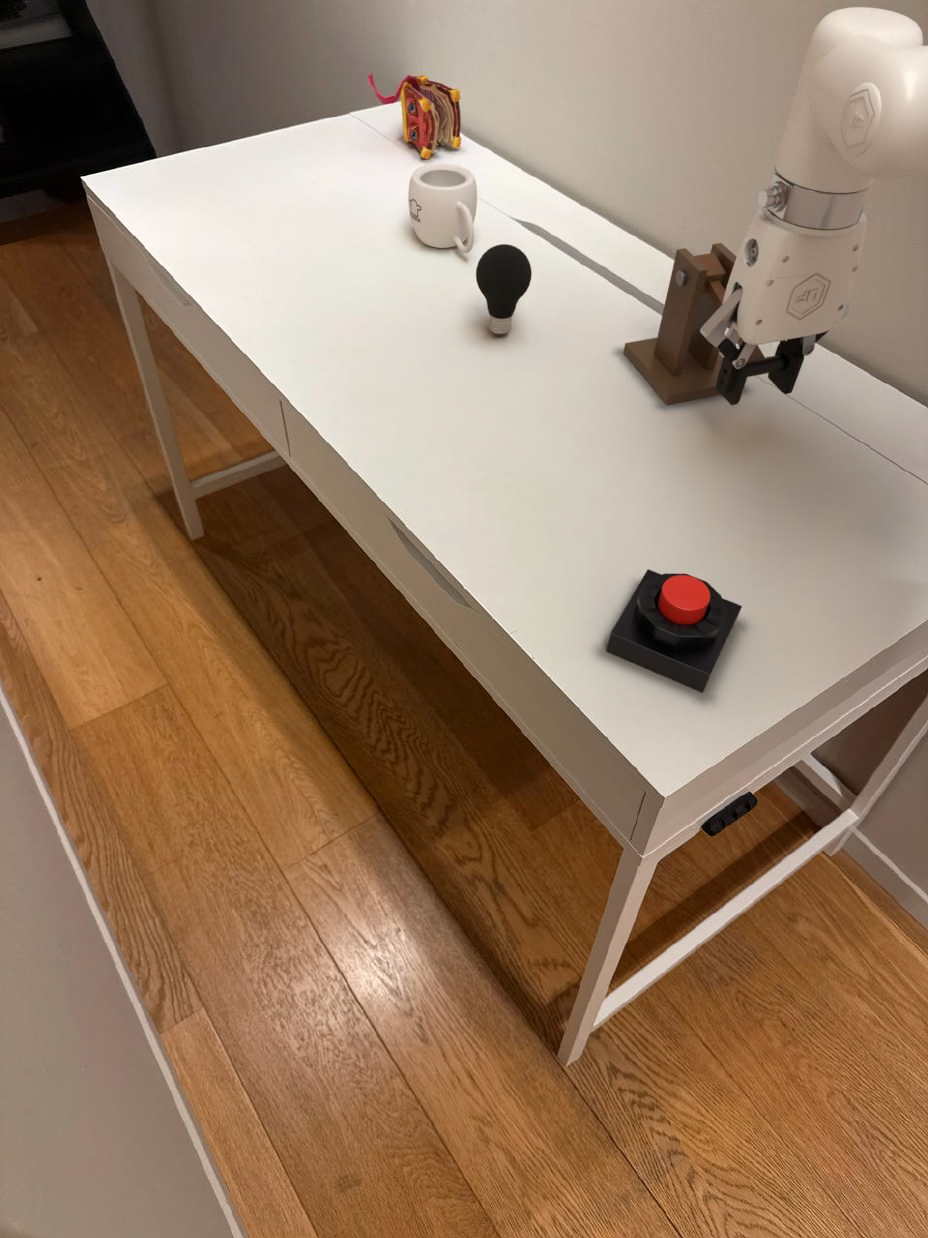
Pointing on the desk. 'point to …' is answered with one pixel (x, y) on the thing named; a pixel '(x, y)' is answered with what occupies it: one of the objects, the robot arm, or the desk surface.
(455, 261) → the desk surface
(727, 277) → the bracket
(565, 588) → the desk surface
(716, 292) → the lever
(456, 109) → the book monster
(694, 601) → the button
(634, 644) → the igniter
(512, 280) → the light bulb
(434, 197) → the mug
